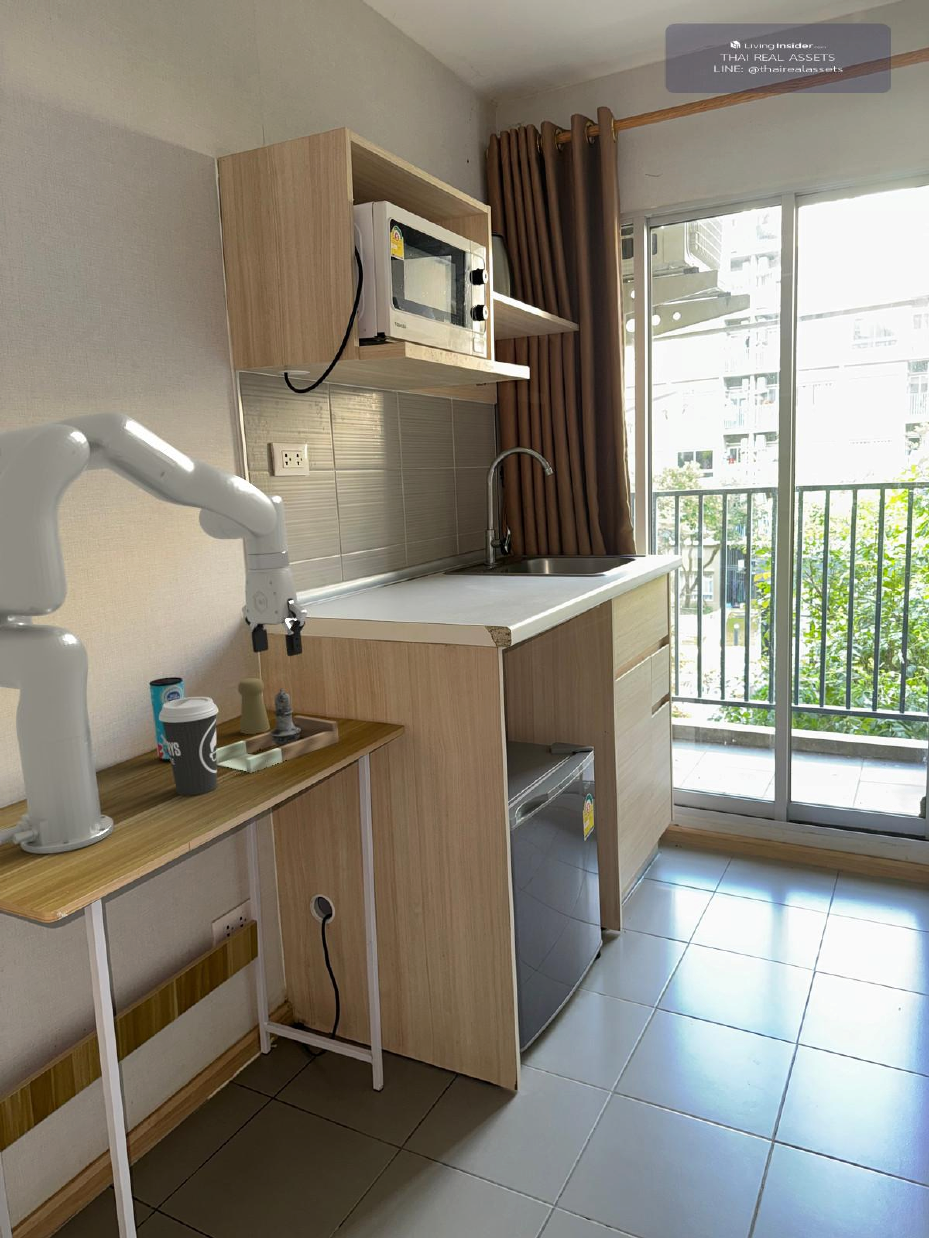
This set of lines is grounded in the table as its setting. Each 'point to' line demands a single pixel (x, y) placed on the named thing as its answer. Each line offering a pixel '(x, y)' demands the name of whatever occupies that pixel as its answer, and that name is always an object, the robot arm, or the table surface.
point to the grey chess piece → (284, 721)
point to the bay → (312, 730)
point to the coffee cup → (191, 743)
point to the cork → (253, 707)
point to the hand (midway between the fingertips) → (277, 652)
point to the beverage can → (160, 695)
